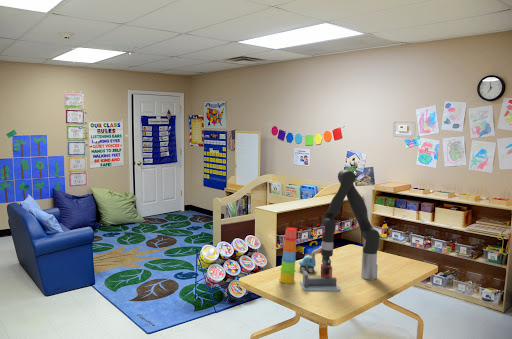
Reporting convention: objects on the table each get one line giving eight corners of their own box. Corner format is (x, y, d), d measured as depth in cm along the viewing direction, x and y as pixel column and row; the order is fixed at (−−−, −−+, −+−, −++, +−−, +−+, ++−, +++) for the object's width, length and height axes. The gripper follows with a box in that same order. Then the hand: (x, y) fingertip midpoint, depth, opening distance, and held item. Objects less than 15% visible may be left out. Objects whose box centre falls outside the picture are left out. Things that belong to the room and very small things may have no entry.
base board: (334, 283, 252) (334, 281, 251) (339, 290, 240) (339, 289, 239) (300, 283, 250) (300, 281, 250) (303, 290, 239) (303, 289, 238)
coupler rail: (334, 283, 249) (334, 270, 248) (337, 287, 242) (337, 274, 241) (302, 283, 248) (303, 270, 247) (304, 287, 241) (304, 274, 240)
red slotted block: (329, 277, 261) (330, 264, 260) (331, 280, 255) (332, 267, 255) (320, 277, 261) (321, 264, 260) (322, 280, 255) (323, 267, 254)
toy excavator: (323, 274, 267) (324, 249, 265) (298, 271, 270) (299, 247, 269) (323, 269, 275) (324, 245, 274) (299, 267, 279) (300, 243, 277)
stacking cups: (286, 276, 260) (288, 225, 257) (298, 281, 253) (300, 228, 250) (275, 280, 253) (277, 227, 250) (287, 285, 246) (289, 230, 242)
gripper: (335, 251, 249) (334, 276, 251) (330, 244, 263) (328, 268, 265) (323, 251, 249) (322, 276, 251) (319, 244, 263) (317, 268, 265)
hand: (325, 272), depth 258 cm, fingers open, 8 cm apart
